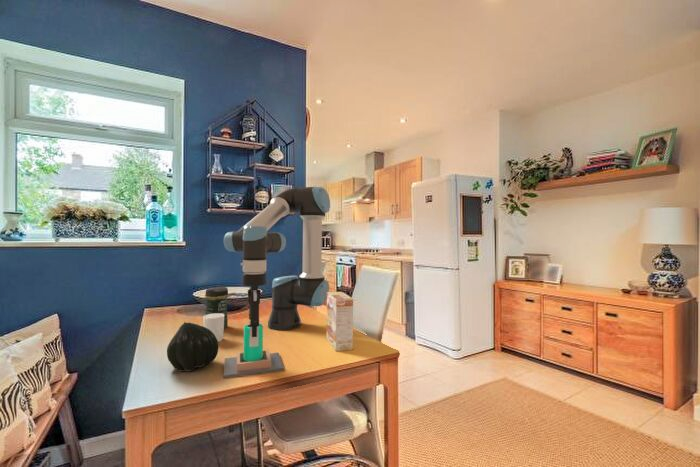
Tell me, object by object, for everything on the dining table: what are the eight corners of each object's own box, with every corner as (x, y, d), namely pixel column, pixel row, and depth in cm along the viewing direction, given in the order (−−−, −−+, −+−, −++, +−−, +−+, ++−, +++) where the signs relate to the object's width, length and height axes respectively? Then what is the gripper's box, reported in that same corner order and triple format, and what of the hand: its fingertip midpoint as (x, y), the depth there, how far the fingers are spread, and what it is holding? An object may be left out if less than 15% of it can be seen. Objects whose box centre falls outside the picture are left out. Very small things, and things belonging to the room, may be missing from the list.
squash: (229, 351, 106) (213, 311, 112) (180, 366, 95) (166, 321, 101) (214, 370, 113) (201, 332, 120) (168, 387, 102) (155, 344, 109)
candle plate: (278, 354, 118) (278, 346, 118) (283, 370, 105) (283, 361, 105) (224, 360, 112) (225, 351, 112) (223, 378, 99) (223, 368, 99)
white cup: (216, 344, 128) (216, 318, 128) (198, 342, 130) (199, 317, 129) (228, 338, 136) (228, 313, 136) (211, 336, 137) (211, 312, 137)
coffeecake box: (325, 339, 136) (326, 292, 136) (342, 337, 138) (342, 291, 138) (335, 351, 122) (335, 299, 122) (353, 349, 124) (353, 298, 124)
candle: (243, 362, 104) (243, 324, 104) (243, 355, 110) (244, 319, 110) (262, 360, 106) (263, 323, 106) (262, 353, 112) (262, 318, 112)
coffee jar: (213, 332, 143) (213, 289, 143) (201, 329, 147) (201, 288, 147) (231, 326, 152) (231, 286, 152) (219, 324, 156) (219, 285, 156)
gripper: (242, 269, 116) (241, 335, 116) (242, 276, 98) (241, 354, 98) (263, 269, 118) (263, 333, 118) (268, 276, 100) (267, 351, 100)
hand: (253, 342), depth 108 cm, fingers closed on candle, 6 cm apart
